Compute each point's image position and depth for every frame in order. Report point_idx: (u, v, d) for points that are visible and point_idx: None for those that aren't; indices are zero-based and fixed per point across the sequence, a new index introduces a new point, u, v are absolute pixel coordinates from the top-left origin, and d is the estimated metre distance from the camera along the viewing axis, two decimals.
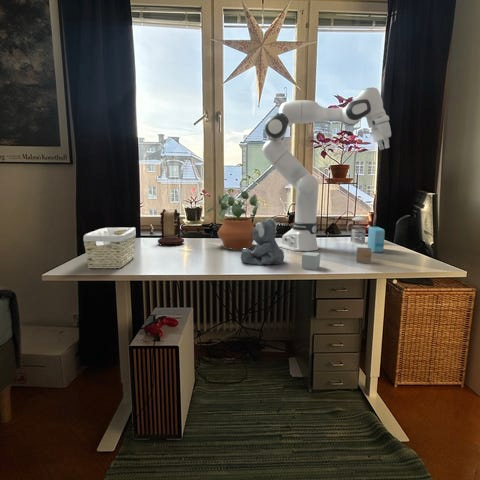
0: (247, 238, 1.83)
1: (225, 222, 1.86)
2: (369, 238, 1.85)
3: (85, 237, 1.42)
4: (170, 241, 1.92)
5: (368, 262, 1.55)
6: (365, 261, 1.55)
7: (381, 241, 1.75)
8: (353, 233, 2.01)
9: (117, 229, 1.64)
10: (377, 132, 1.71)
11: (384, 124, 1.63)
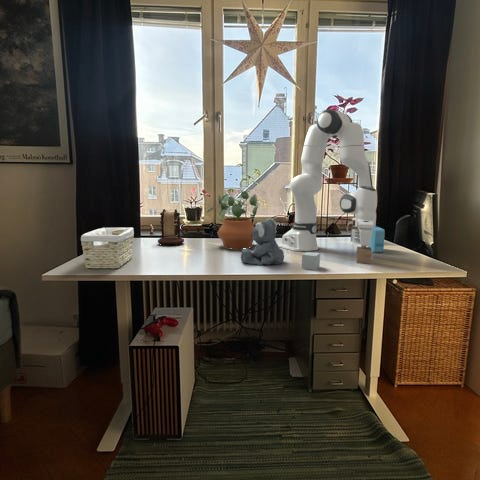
0: (247, 238, 1.83)
1: (225, 222, 1.86)
2: None
3: (83, 237, 1.42)
4: (170, 241, 1.92)
5: (368, 262, 1.55)
6: (365, 261, 1.55)
7: (381, 241, 1.75)
8: (353, 233, 2.01)
9: (115, 229, 1.64)
10: None
11: (366, 231, 1.52)
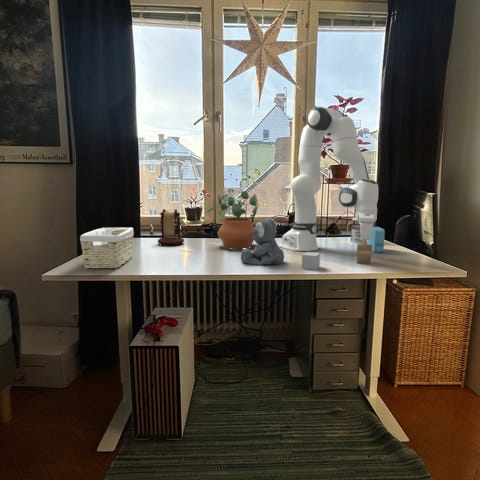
0: (247, 238, 1.83)
1: (225, 222, 1.86)
2: None
3: (82, 237, 1.42)
4: (170, 241, 1.92)
5: (368, 262, 1.55)
6: (365, 261, 1.55)
7: (381, 241, 1.75)
8: (353, 233, 2.01)
9: (114, 229, 1.64)
10: None
11: (367, 225, 1.48)
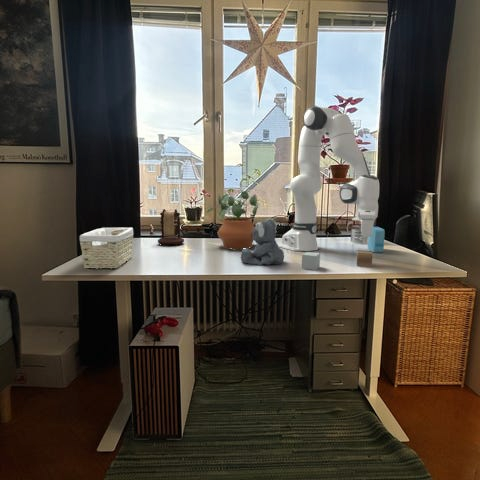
0: (247, 238, 1.83)
1: (225, 222, 1.86)
2: (369, 238, 1.85)
3: (81, 237, 1.42)
4: (170, 241, 1.92)
5: None
6: None
7: (381, 241, 1.75)
8: (353, 233, 2.01)
9: (114, 229, 1.64)
10: None
11: (367, 222, 1.44)
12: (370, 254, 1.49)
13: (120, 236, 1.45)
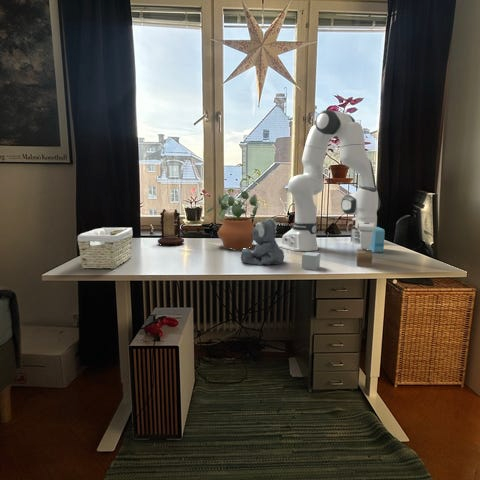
0: (247, 238, 1.83)
1: (225, 222, 1.86)
2: None
3: (79, 237, 1.42)
4: (170, 241, 1.92)
5: None
6: None
7: (381, 241, 1.75)
8: (353, 233, 2.01)
9: (114, 229, 1.64)
10: None
11: (366, 234, 1.46)
12: (370, 254, 1.48)
13: (118, 236, 1.45)
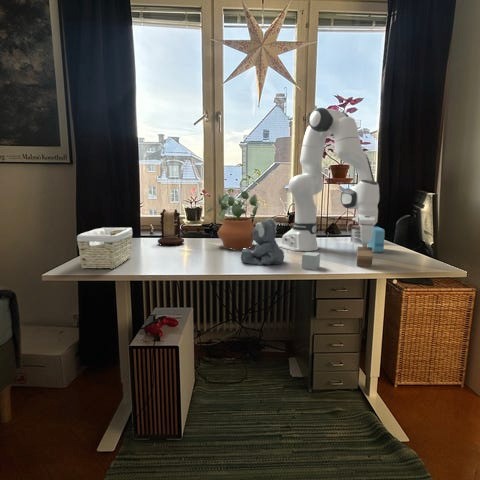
0: (247, 238, 1.83)
1: (225, 222, 1.86)
2: None
3: (78, 237, 1.42)
4: (170, 241, 1.92)
5: None
6: None
7: (381, 241, 1.75)
8: (353, 233, 2.01)
9: (113, 229, 1.64)
10: None
11: (367, 227, 1.43)
12: (370, 256, 1.46)
13: (117, 236, 1.45)
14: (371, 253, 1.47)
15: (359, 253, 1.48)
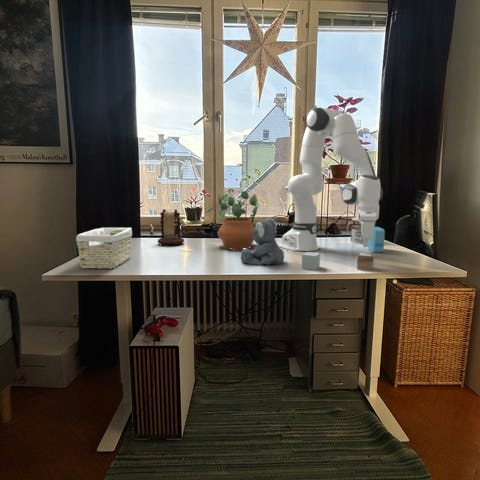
0: (247, 238, 1.83)
1: (225, 222, 1.86)
2: None
3: (78, 237, 1.42)
4: (170, 241, 1.92)
5: None
6: None
7: (381, 241, 1.75)
8: (353, 233, 2.01)
9: (113, 229, 1.64)
10: None
11: (368, 224, 1.38)
12: None
13: (116, 236, 1.45)
14: (371, 266, 1.44)
15: (359, 266, 1.45)
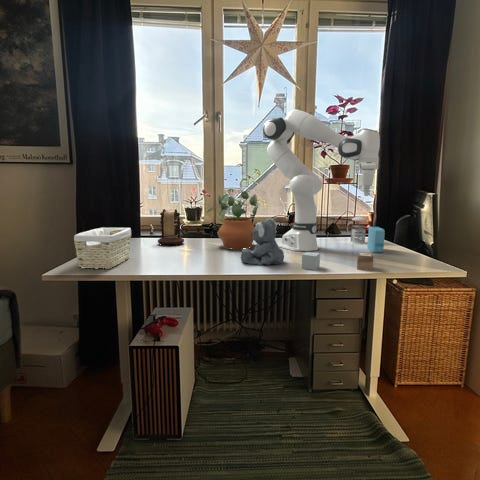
0: (247, 238, 1.83)
1: (225, 222, 1.86)
2: (369, 238, 1.85)
3: (75, 237, 1.42)
4: (170, 241, 1.92)
5: None
6: None
7: (381, 241, 1.75)
8: (353, 233, 2.01)
9: (112, 229, 1.63)
10: None
11: (369, 171, 1.54)
12: None
13: (114, 236, 1.44)
14: (371, 266, 1.44)
15: (359, 266, 1.45)
